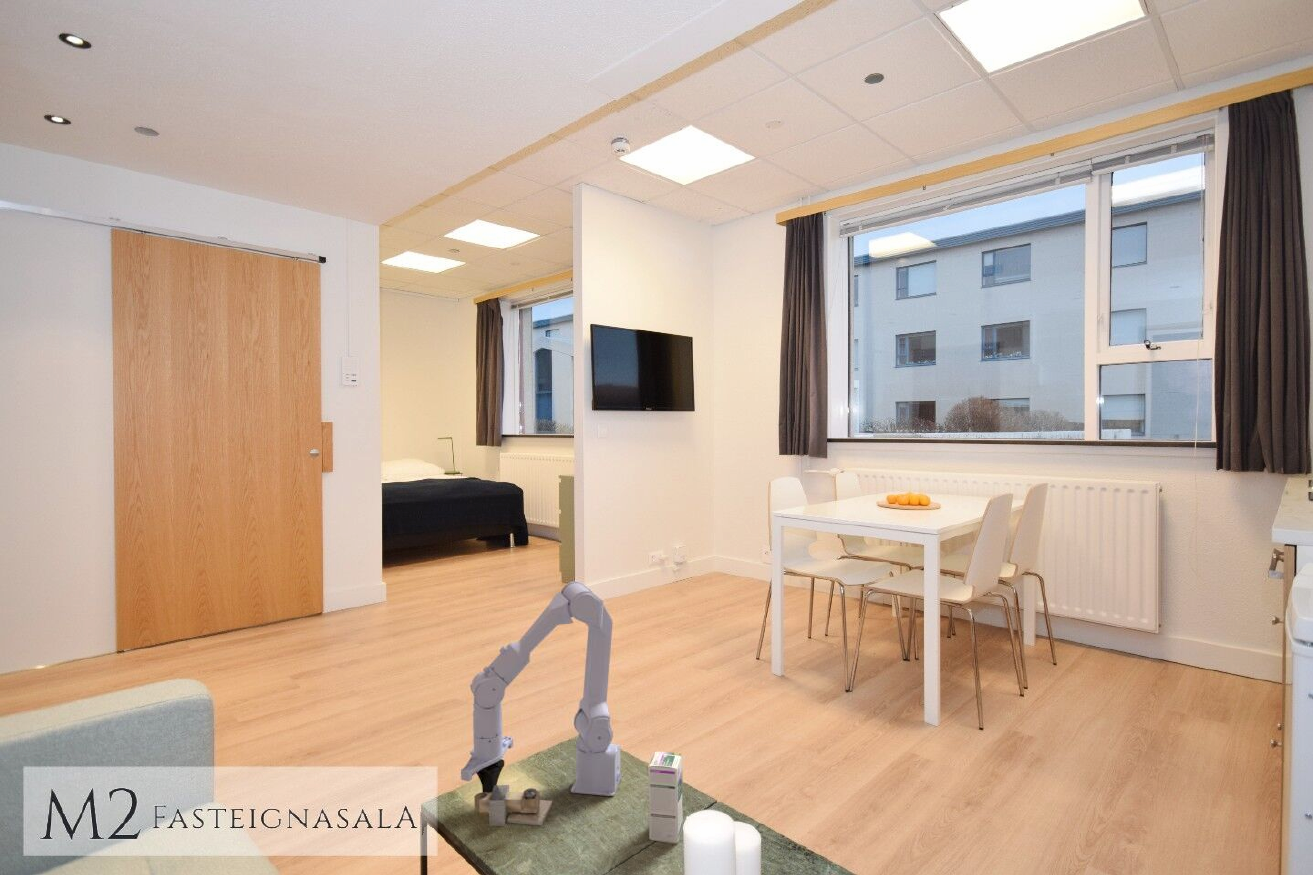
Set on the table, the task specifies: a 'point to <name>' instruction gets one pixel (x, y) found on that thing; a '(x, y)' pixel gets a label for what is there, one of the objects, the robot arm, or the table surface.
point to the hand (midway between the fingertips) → (488, 796)
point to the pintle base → (531, 817)
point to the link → (509, 802)
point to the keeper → (498, 805)
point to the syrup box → (665, 797)
